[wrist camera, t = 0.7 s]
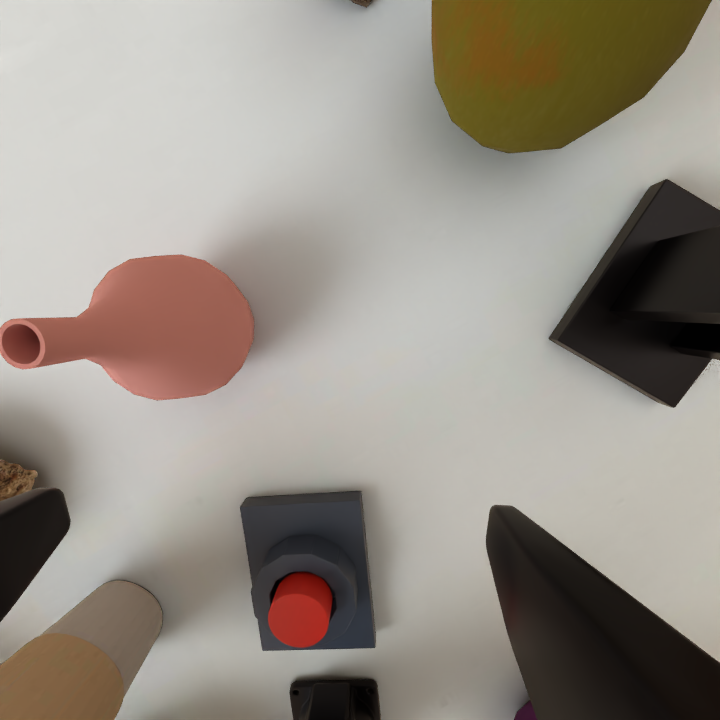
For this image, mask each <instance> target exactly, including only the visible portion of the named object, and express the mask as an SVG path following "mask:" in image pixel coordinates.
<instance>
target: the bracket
mask: <svg viewBox="0 0 720 720" xmlns="http://www.w3.org/2000/svg"><path fill="white" fill-rule="evenodd" d="M549 339H550V340H551V341H553V342H555V343H556V344H558V345H560V346H561V347H563V348H565V349H567V350H568V351H570V352H572V353H574V354H575V355H577V356H579V357H580V358H582V359H584V360H586V361H587V362H589V363H591V364H593V365H594V366H596V367H598V368H599V369H601V370H603V371H605V372H606V373H608V374H610V375H612V376H613V377H615V378H617V379H618V380H620V381H622V382H624V383H625V384H627V385H629V386H631V387H632V388H634V389H636V390H637V391H639V392H641V393H643V394H644V395H646V396H648V397H649V398H651V399H653V400H655V401H656V402H658V403H661V404H664V405H667V406H669V407H673V408H674V407H676V405H677V404H678V403H679V401H680V400H681V399H682V397H683V396H684V395H685V394H686V392H687V391H688V390H689V388H690V387H691V386H692V384H693V383H694V382H695V380H696V379H697V378H698V376H699V375H700V374H701V373H702V371H703V370H704V369H705V367H706V366H707V365H708V363H709V362H710V361H711V359H717V360H720V210H718V209H717V208H715V207H713V206H712V205H710V204H708V203H707V202H705V201H703V200H701V199H700V198H698V197H696V196H695V195H693V194H691V193H690V192H688V191H686V190H685V189H683V188H681V187H680V186H678V185H676V184H675V183H673V182H671V181H670V180H668V179H665V180H663V181H661V182H659V183H657V184H654V185H652V186H650V188H649V189H648V191H647V192H646V194H645V195H644V197H643V198H642V200H641V201H640V203H639V204H638V206H637V207H636V208H635V210H634V211H633V213H632V214H631V216H630V217H629V219H628V220H627V222H626V223H625V225H624V226H623V228H622V229H621V231H620V232H619V234H618V235H617V237H616V238H615V240H614V241H613V243H612V244H611V246H610V247H609V249H608V250H607V252H606V253H605V255H604V256H603V258H602V259H601V261H600V262H599V264H598V265H597V267H596V268H595V270H594V271H593V273H592V274H591V276H590V277H589V279H588V280H587V282H586V283H585V285H584V286H583V288H582V289H581V291H580V292H579V294H578V295H577V297H576V298H575V300H574V301H573V303H572V304H571V306H570V307H569V309H568V310H567V312H566V313H565V315H564V316H563V318H562V319H561V321H560V322H559V324H558V325H557V327H556V328H555V330H554V331H553V333H552V334H551V336H550V337H549Z"/></svg>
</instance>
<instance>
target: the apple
mask: <svg viewBox="0 0 720 720" xmlns="http://www.w3.org/2000/svg"><path fill="white" fill-rule="evenodd" d="M711 1H712V0H432V51H433V64H434V77H435V84H436V86H437V89H438V91H439V93H440V95H441V98H442V100H443V102H444V104H445V107H446V109H447V111H448V113H449V116H450V118H451V120H452V121H453V122H454V123H455V124H456V125H457V126H459V127H460V128H461V129H462V130H464V131H465V132H466V133H467V134H468V135H470V136H471V137H472V138H473V139H474V140H476V141H477V142H478V143H479V144H480V145H482V146H484V147H487V148H491V149H495V150H498V151H502V152H505V153H518V152H529V151H539V150H549V149H559V148H562V147H564V146H566V145H567V144H569V143H571V142H572V141H574V140H576V139H577V138H579V137H581V136H583V135H584V134H586V133H588V132H589V131H591V130H593V129H594V128H596V127H598V126H599V125H601V124H602V123H604V122H606V121H607V120H609V119H610V118H612V117H613V116H615V115H617V114H618V113H620V112H621V111H623V110H624V109H626V108H628V107H629V106H631V105H632V104H634V103H635V102H637V101H639V100H640V99H642V98H643V97H645V95H646V94H647V93H648V92H649V91H650V90H651V89H652V88H653V86H654V85H655V84H656V83H657V82H658V81H659V80H660V79H661V77H662V76H663V75H664V74H665V73H666V72H667V71H668V70H669V68H670V67H671V66H672V65H673V64H674V63H675V62H676V60H677V59H678V58H679V57H680V56H681V55H682V54H683V53H684V51H685V50H686V48H687V46H688V44H689V42H690V40H691V38H692V36H693V34H694V33H695V31H696V29H697V27H698V25H699V23H700V21H701V19H702V18H703V16H704V14H705V12H706V10H707V8H708V6H709V4H710V3H711Z"/></svg>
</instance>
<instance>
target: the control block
mask: <svg viewBox="0 0 720 720" xmlns="http://www.w3.org/2000/svg"><path fill="white" fill-rule="evenodd" d="M240 510H241V517H242V523H243V529H244V536H245V542H246V548H247V555H248V561H249V567H250V574H251V580H252V589H251V595H252V602H253V608H254V614H255V616H256V618H257V619H258V625H259V631H260V637H261V644H262V650H263V651H274V650H314V649H354V648H375V643H376V631H375V621H374V611H373V601H372V591H371V582H370V572H369V562H368V552H367V543H366V533H365V523H364V513H363V504H362V494H361V491H350V492H333V493H316V494H299V495H282V496H265V497H248V498H246V499H245V501H244V502H243V504H242V505H241V506H240ZM296 572H309V573H313V574H315V575H317V576H319V577H320V578H322V579H323V580H324V581H325V582H326V583H327V584H328V586H329V588H330V590H331V593H332V607H331V613H330V619H329V625H328V630H327V632H326V634H325V636H324V637H323V638H322V639H321V640H320V641H319V642H318V643H316V644H314V645H312V646H309V647H303V648H299V647H292V646H289V645H286V644H284V643H283V642H281V641H280V640H278V639H277V638H276V637H275V636H274V634H273V633H272V631H271V629H270V627H269V623H268V612H269V609H270V606H271V604H272V601H273V598H274V596H275V593H276V590H277V588H278V585H279V584H280V582H281V581H282V580H283V579H284V578H285V577H286V576H288V575H290V574H292V573H296Z"/></svg>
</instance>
